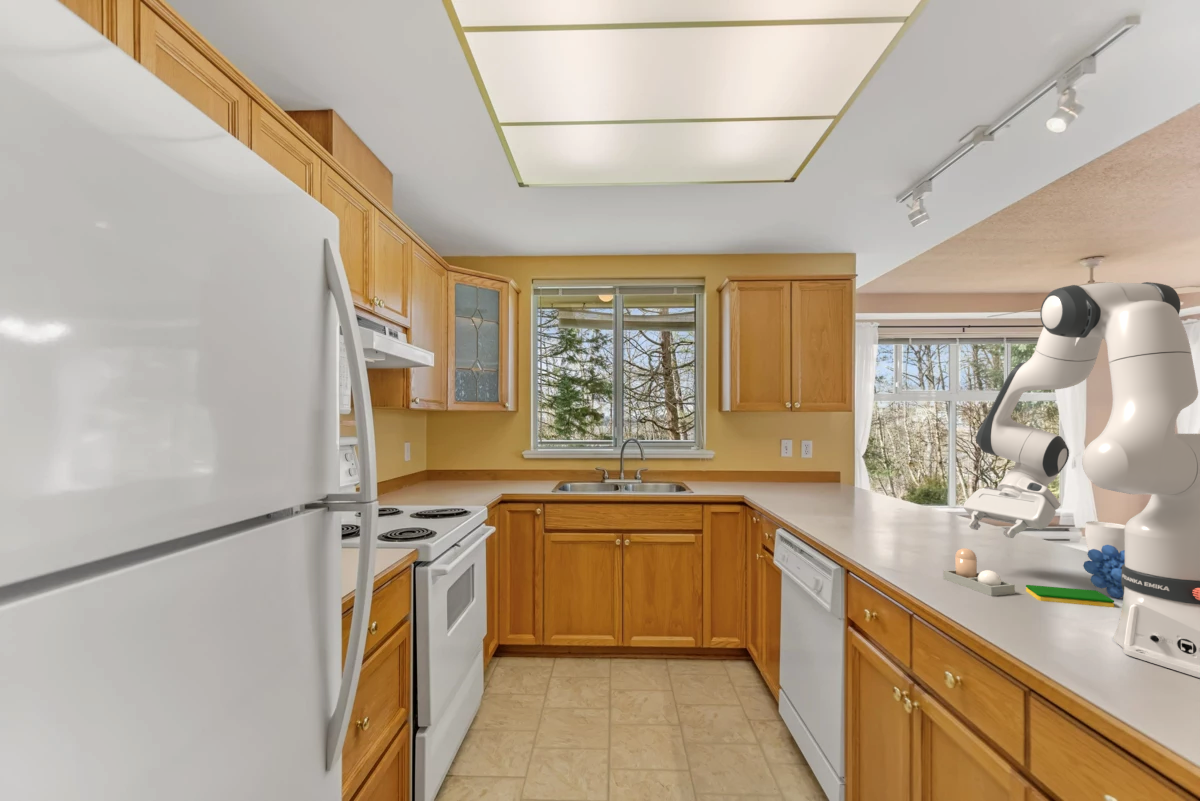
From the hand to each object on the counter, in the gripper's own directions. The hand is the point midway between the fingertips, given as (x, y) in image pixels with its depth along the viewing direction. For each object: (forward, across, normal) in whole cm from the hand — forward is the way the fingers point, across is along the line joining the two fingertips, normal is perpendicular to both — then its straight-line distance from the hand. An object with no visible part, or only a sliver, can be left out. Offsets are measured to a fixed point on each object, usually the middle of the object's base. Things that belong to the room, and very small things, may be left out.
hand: (989, 531), depth 139 cm
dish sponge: (+6, +15, +13) cm, 21 cm away
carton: (+14, +3, +4) cm, 15 cm away
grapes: (-3, +17, +21) cm, 27 cm away
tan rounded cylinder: (+14, 0, +3) cm, 14 cm away
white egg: (+14, +6, +3) cm, 15 cm away
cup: (-20, -1, +38) cm, 43 cm away
